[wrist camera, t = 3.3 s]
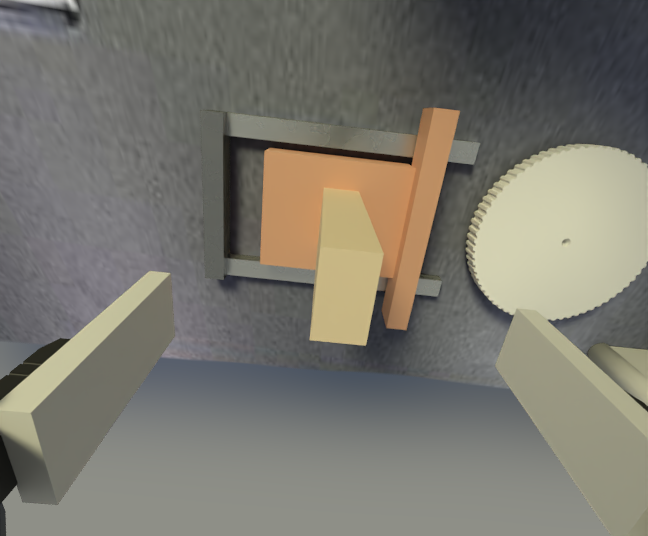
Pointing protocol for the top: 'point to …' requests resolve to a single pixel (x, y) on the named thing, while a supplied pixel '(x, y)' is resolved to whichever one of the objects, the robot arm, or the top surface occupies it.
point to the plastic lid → (561, 231)
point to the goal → (624, 367)
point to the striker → (355, 226)
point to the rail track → (290, 131)
